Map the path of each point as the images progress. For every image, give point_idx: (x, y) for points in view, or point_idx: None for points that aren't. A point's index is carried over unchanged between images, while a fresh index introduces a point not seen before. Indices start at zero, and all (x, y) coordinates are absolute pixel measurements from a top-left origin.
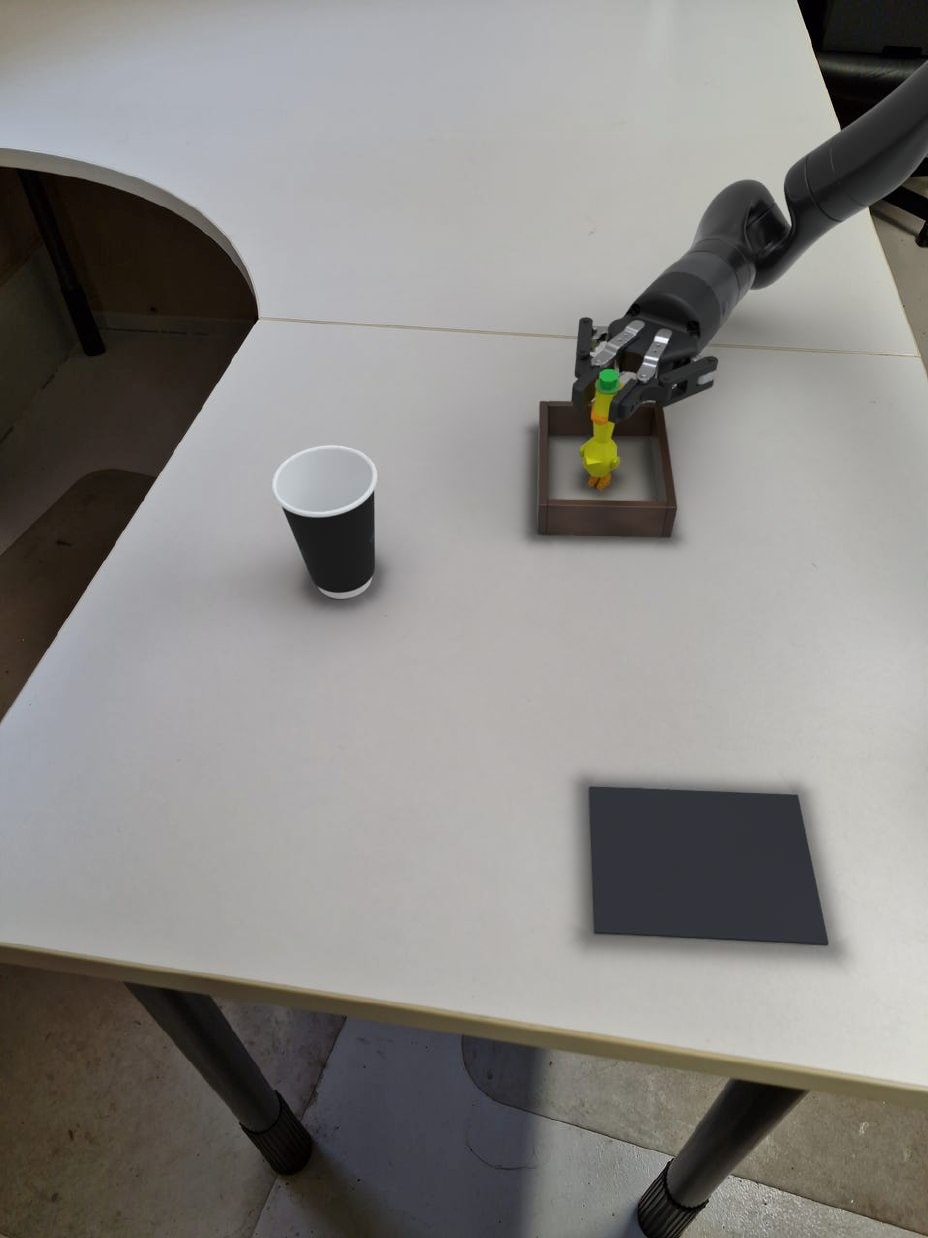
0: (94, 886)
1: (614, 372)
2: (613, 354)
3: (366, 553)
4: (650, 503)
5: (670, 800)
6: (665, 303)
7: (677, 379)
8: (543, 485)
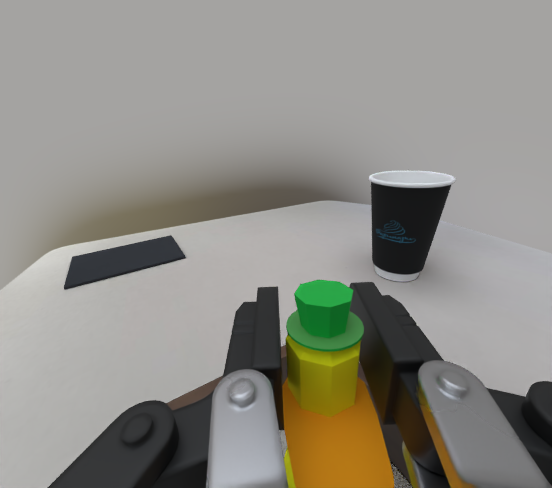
0: (323, 205)
1: (316, 301)
2: (467, 473)
3: (373, 236)
4: (180, 404)
5: (142, 264)
6: None
7: (81, 457)
8: None
